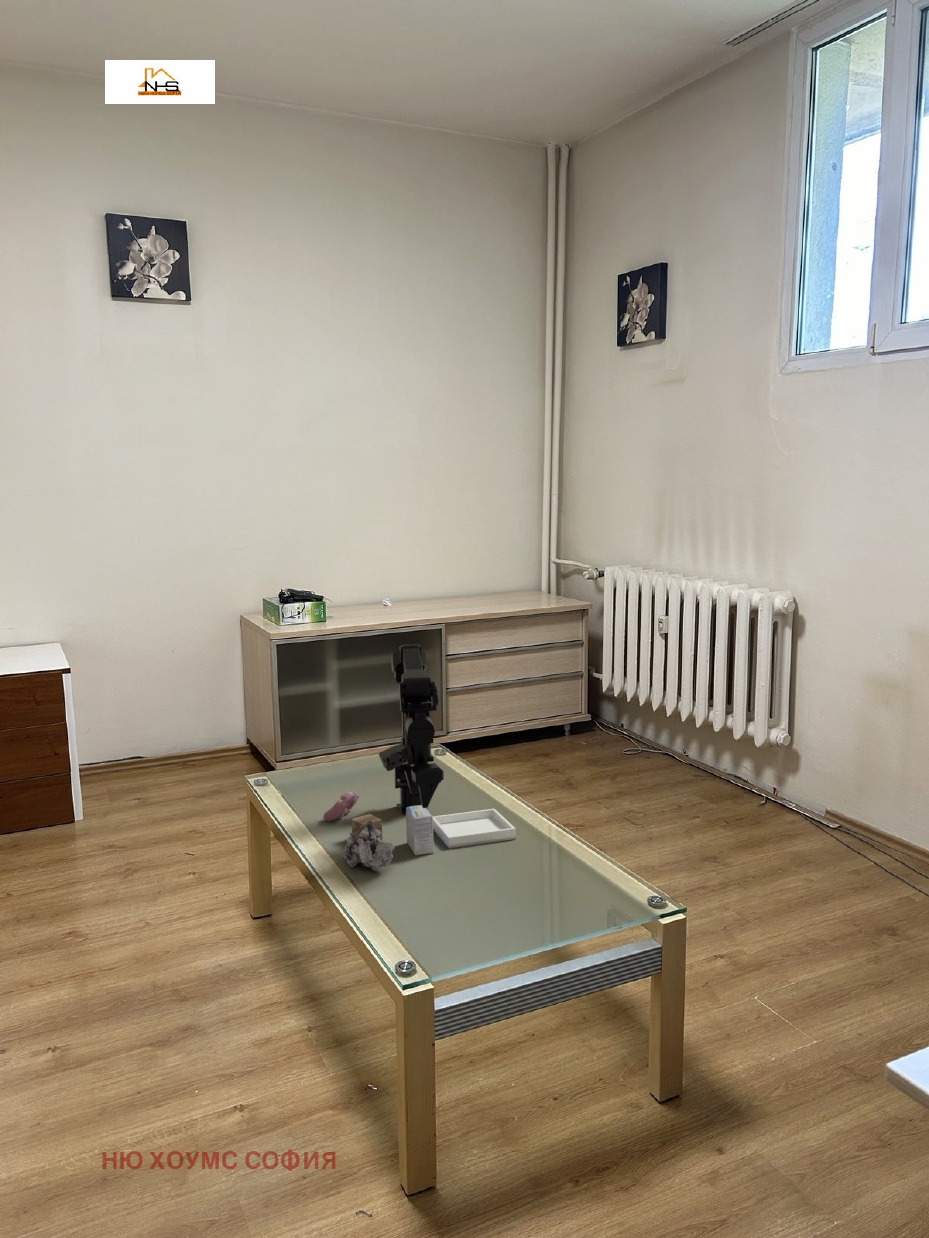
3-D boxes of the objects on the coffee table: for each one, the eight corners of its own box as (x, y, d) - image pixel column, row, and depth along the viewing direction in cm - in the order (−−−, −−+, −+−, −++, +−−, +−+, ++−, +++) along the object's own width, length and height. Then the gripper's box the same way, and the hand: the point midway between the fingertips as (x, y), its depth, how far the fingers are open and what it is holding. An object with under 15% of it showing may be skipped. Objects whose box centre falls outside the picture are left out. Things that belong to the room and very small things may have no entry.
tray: (431, 826, 219) (430, 816, 218) (494, 818, 224) (494, 808, 224) (449, 848, 206) (448, 837, 205) (515, 838, 211) (515, 828, 210)
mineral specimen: (400, 858, 191) (377, 810, 193) (355, 880, 188) (333, 832, 191) (396, 863, 203) (375, 819, 206) (355, 884, 200) (334, 839, 203)
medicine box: (434, 853, 203) (433, 816, 202) (414, 856, 202) (413, 818, 201) (425, 840, 211) (424, 804, 209) (406, 843, 209) (405, 806, 208)
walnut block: (352, 839, 212) (351, 818, 211) (370, 834, 215) (370, 813, 214) (363, 846, 208) (363, 824, 207) (382, 840, 211) (381, 819, 210)
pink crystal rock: (336, 829, 222) (347, 806, 220) (320, 819, 223) (331, 796, 221) (353, 815, 232) (364, 792, 230) (338, 806, 232) (349, 783, 231)
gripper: (372, 725, 209) (373, 792, 211) (392, 747, 191) (394, 819, 193) (419, 721, 212) (420, 786, 214) (443, 742, 195) (445, 813, 197)
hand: (419, 801), depth 205 cm, fingers open, 9 cm apart
